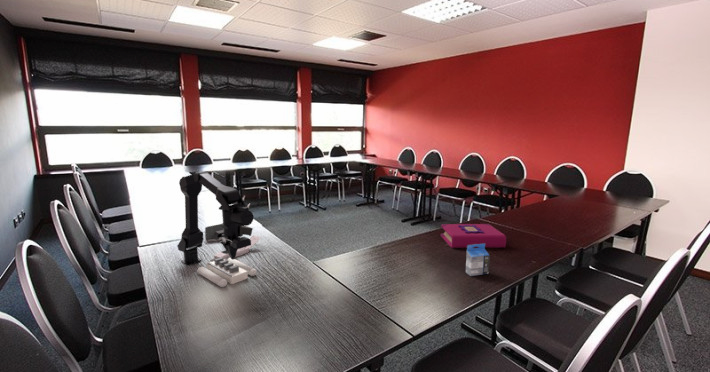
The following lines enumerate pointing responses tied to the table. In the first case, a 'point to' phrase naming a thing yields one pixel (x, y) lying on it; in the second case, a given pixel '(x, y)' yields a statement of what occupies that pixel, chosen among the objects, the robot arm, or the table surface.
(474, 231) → the book
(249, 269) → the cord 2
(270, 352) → the table surface
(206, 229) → the wireless router
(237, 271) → the breaker strip
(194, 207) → the robot arm
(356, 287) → the table surface
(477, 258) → the label tape box
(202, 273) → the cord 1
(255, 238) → the mobile phone
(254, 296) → the table surface
